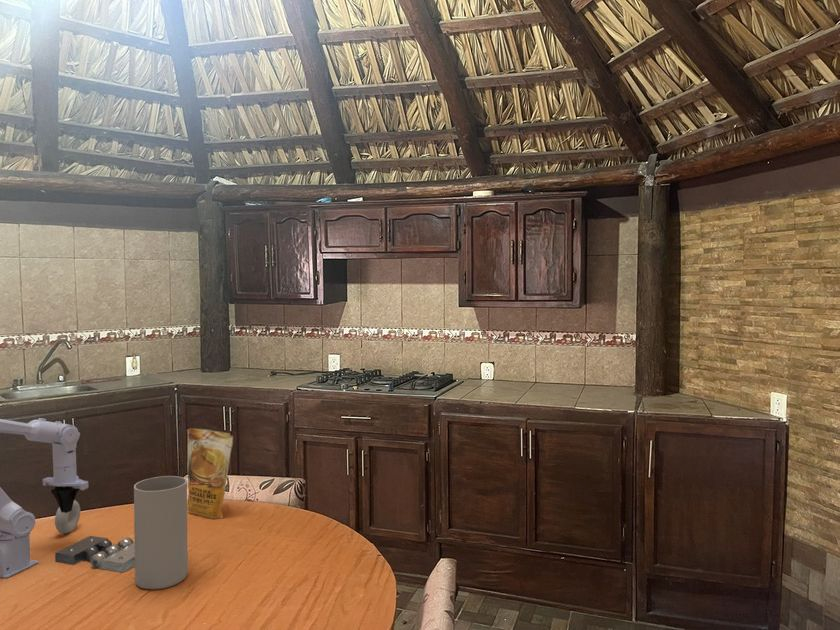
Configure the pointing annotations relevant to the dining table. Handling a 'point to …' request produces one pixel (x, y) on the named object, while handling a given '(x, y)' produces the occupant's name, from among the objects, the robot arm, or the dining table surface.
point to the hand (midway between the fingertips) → (66, 511)
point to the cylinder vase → (160, 532)
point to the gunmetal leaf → (82, 550)
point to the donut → (67, 519)
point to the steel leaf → (116, 557)
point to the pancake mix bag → (207, 470)
